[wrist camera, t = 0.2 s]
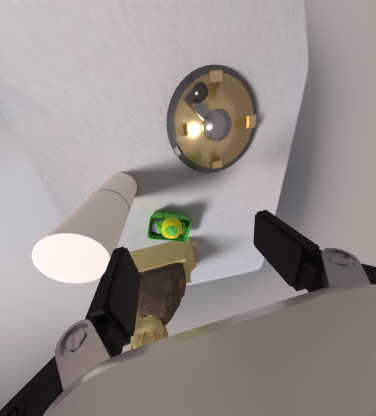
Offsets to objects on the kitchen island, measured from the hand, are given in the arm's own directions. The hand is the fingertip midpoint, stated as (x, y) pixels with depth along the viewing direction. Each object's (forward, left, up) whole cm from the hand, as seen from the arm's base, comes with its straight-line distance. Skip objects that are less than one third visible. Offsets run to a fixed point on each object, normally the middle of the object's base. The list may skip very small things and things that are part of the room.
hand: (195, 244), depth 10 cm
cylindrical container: (+4, -12, -31) cm, 33 cm away
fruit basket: (+16, -2, -31) cm, 35 cm away
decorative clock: (+31, -11, -31) cm, 45 cm away
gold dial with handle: (-7, +12, -28) cm, 31 cm away
